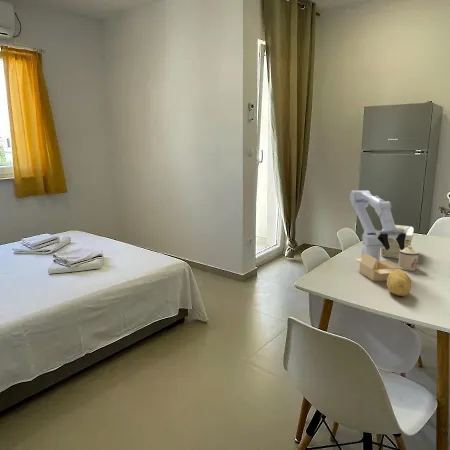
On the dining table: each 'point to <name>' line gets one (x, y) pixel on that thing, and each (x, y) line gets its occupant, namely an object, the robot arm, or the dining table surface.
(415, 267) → the teacup with lid
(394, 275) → the potato
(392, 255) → the storage basket
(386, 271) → the carton
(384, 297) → the dining table surface
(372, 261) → the flap
